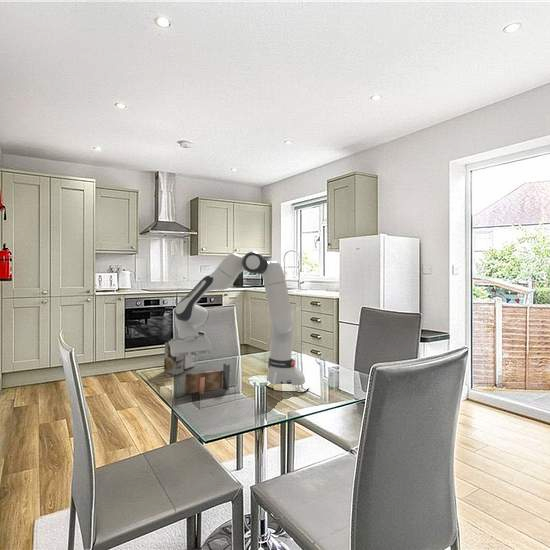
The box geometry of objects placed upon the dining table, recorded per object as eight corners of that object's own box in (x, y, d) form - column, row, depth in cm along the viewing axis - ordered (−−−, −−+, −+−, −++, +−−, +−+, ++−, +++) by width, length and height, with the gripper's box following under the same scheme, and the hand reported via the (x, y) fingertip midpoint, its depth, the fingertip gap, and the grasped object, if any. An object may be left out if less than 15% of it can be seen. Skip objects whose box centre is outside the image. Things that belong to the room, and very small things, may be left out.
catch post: (205, 392, 189) (205, 376, 188) (203, 394, 186) (203, 378, 186) (200, 391, 189) (200, 376, 189) (198, 393, 187) (199, 377, 186)
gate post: (229, 387, 197) (230, 363, 197) (227, 389, 194) (228, 365, 193) (223, 386, 198) (224, 362, 197) (221, 389, 195) (222, 364, 194)
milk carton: (184, 369, 222) (186, 335, 221) (176, 366, 227) (177, 333, 226) (194, 367, 228) (196, 333, 227) (186, 364, 232) (187, 331, 231)
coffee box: (184, 372, 217) (185, 342, 216) (175, 375, 212) (177, 344, 211) (172, 368, 222) (173, 340, 221) (163, 371, 216) (164, 342, 216)
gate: (220, 387, 196) (221, 369, 195) (222, 388, 194) (223, 370, 194) (184, 391, 187) (185, 373, 186) (185, 393, 185) (186, 374, 184)
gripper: (169, 335, 194) (174, 360, 186) (208, 332, 205) (216, 355, 197) (166, 342, 198) (171, 367, 190) (205, 339, 209) (212, 362, 201)
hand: (194, 361), depth 193 cm, fingers closed
